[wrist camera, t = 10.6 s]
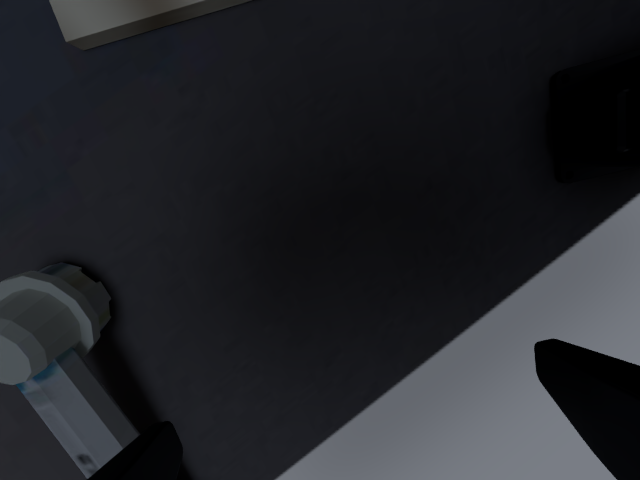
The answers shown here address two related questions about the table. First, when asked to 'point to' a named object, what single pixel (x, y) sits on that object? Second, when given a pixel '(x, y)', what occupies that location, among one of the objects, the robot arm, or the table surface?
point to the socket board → (125, 17)
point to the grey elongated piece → (62, 360)
